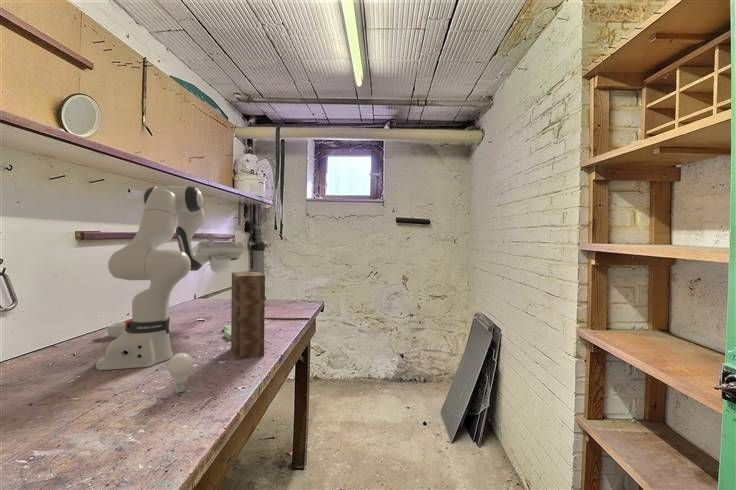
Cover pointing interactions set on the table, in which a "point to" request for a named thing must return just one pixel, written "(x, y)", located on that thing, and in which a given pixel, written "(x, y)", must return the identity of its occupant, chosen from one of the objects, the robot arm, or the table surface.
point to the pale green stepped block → (227, 331)
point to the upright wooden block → (247, 314)
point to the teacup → (116, 329)
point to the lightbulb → (180, 370)
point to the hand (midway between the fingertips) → (223, 239)
